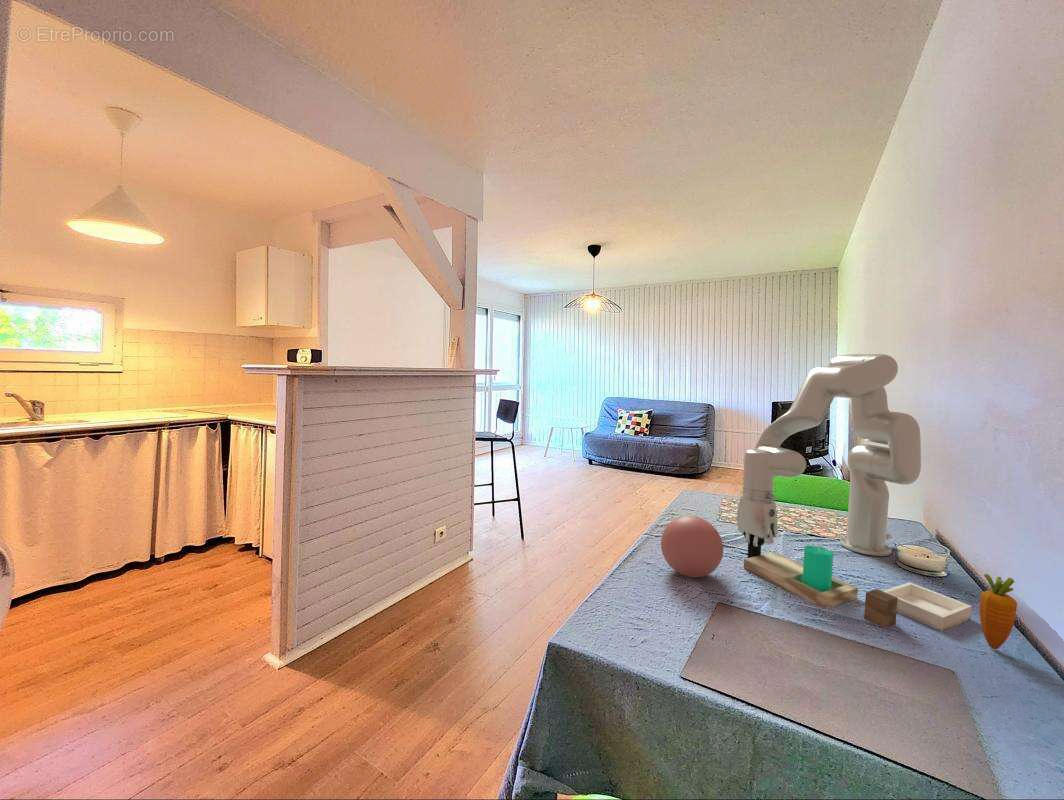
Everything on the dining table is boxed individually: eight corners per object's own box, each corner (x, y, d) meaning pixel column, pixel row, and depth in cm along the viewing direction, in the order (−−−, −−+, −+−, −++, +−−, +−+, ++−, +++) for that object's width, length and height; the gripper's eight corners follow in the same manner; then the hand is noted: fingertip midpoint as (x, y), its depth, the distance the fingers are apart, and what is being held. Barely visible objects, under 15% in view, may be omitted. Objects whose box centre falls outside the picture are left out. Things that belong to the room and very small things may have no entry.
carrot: (968, 641, 90) (975, 569, 89) (991, 640, 90) (998, 569, 89) (996, 658, 85) (1003, 582, 84) (1019, 656, 85) (1027, 581, 84)
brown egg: (740, 571, 120) (743, 515, 119) (702, 595, 107) (705, 532, 106) (688, 552, 131) (690, 501, 130) (648, 572, 118) (650, 515, 117)
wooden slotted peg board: (774, 560, 126) (774, 552, 126) (857, 598, 106) (858, 588, 106) (743, 567, 122) (744, 559, 121) (824, 608, 102) (825, 598, 101)
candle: (835, 599, 106) (838, 550, 105) (807, 596, 107) (810, 547, 106) (824, 586, 112) (827, 540, 111) (797, 584, 113) (800, 538, 112)
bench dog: (874, 614, 99) (876, 588, 99) (895, 624, 96) (897, 597, 95) (863, 618, 98) (865, 592, 97) (884, 628, 94) (886, 601, 94)
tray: (908, 594, 109) (909, 582, 108) (970, 619, 98) (971, 606, 98) (880, 603, 104) (881, 591, 104) (941, 631, 93) (943, 617, 93)
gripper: (791, 500, 119) (787, 566, 120) (744, 485, 132) (741, 546, 134) (771, 503, 116) (767, 571, 117) (725, 488, 129) (722, 549, 131)
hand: (753, 557), depth 126 cm, fingers closed
